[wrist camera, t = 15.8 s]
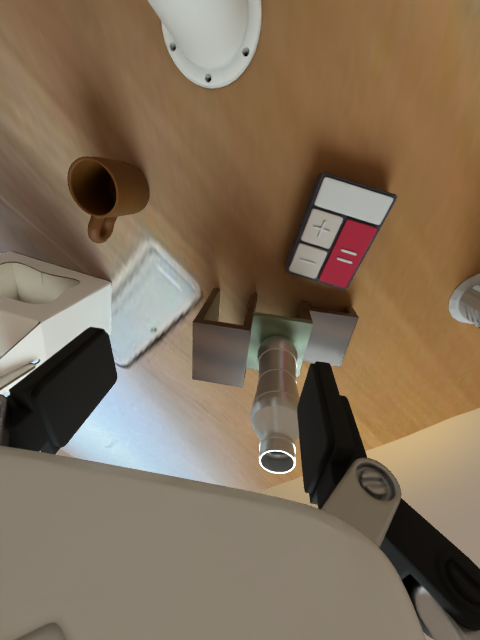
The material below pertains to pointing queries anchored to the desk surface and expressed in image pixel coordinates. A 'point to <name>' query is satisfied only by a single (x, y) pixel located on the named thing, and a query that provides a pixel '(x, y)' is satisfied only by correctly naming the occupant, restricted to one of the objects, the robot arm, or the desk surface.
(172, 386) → the desk surface
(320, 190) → the calculator
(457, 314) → the french press
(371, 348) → the desk surface
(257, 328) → the shelf
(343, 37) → the desk surface
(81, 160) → the mug
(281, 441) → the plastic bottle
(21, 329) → the gable box
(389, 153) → the desk surface
